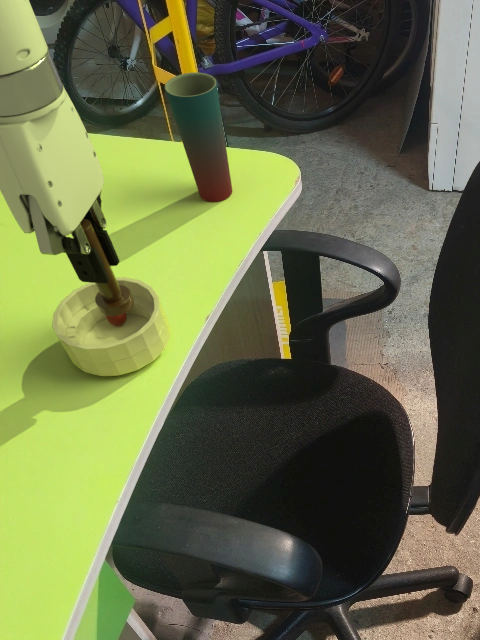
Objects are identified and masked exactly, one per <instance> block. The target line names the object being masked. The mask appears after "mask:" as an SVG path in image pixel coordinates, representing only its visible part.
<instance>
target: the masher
mask: <svg viewBox="0 0 480 640" xmlns="http://www.w3.org/2000/svg"><path fill="white" fill-rule="evenodd" d="M80 224H81V226H82V228H83V231H84V233H85V235H86V237H87V240H88V242H89V244H90V247H92V248H96V250H97V252H98V254H99V256H100V258H101V261H102V263H103V265H104V267H105V269H106V271H107V274H108V276H109V281H108V283H106V284H104V283H95V284H96V286H97V288H98V290H99V292H98V293H97V295H96V297H95V302H96V304H97V306H98V308H99V310H100V312H101V313H103V314H104V315H107V316H118V315H121V314H124V313H126V312H127V311H129V310H130V309H131V308H132V306H133V304H134V298H133V296H132V294H131V291H130V290H129V289H128V288H127V287H126V286H123V285H119V284H118V282H117V280H116V278H117V277H116V276H115V273H114V272H113V269H112V267H111V266H110V264H109V262H108V260H107V258H106V255H105V253H104V251H103V249H102V246H101V244H100V242H99V240H98V238H97V235H96V233H95V231H94V229H93V226H92V224H91V222H90V221H89V220H87V219H82V221H81V222H80ZM70 235H71V236H72V238H73V239H74V237H73V235H72V233H71V234H70Z"/></svg>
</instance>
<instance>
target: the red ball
mask: <svg viewBox="0 0 480 640" xmlns="http://www.w3.org/2000/svg"><path fill="white" fill-rule="evenodd" d="M106 318H107V320H108V322H109V323H110V324H112V325H114V326H121V325H123V324H124V323H125V322H126V320H127V314H126V313H124V314H121V315H118V316H107V315H106Z"/></svg>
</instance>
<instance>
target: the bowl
mask: <svg viewBox="0 0 480 640" xmlns="http://www.w3.org/2000/svg"><path fill="white" fill-rule="evenodd" d="M115 278H116V280H117V282H118V284H119V285H123V286H126V287H127V288H128V289H129V290H130V291H131V294H132V296H133V298H134V304H133V306H132V308H131V309H130V310H129V311H127V312H126V314H127V320H126V322H125V323H124V324H123V325H121V326H114V325H112V324H110V323H109V322H108V320H107V318H106V315H104V314H103V313H101V312H100V310H99V308H98V306H97V304H96V302H95V297H96V295H97V293H98V292H99V290H98V288H97V286H96V284H95V283H91V282H86V283H85V284H84V285H81V286H79V287H78V288H76V289H74V290H72V291H71V292H70V293H69V294H67V295H66V296H65V297H64V298H63V299H62V300H61V301H60V302H59V303H58V305H57V306H56V309H55V310H54V311H53V314H52V322H51V323H52V325H51V326H52V330H53V331H54V333H55V335H56V337H57V339H58V341H59V342H60V344H61V346H62V347H63V349H64V350H65V352H66V354H67V355H68V357H69V359H70V361H71V362H72V364H73V365H74V366H76V367H77V368H78V369H79V370H81V371H82V372H84V373H87V374H91V375H95V376H99V377H114V376H115V377H116V376H122V375H126V374H129V373H132V372H136V371H139V370H140V369H142V368H144V367H145V366H148V365H149V364H151V363H152V362H155V360H156V359H157V358H158V357H159V356H160V355H161V354H162V353H163V352H164V351H165V349H166V347H167V345H168V343H169V341H170V339H171V338H170V337H171V330H170V323H169V320H168V318H167V315H166V312H165V310H164V307H163V305H162V302H161V300H160V297H159V296H158V294H157V293H156V291H155V289H154V288H153V287H152V286H151V285H149V284H148V283H146V282H144V281H142V280H140V279H136V278H131V277H127V276H126V277H125V276H123V277H122V276H121V277H115Z"/></svg>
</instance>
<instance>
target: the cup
mask: <svg viewBox="0 0 480 640" xmlns="http://www.w3.org/2000/svg"><path fill="white" fill-rule="evenodd" d="M164 91H165V94H166V96H167V99H168V102H169V106H170V108H171V112H172V114H173V118H174V121H175V124H176V127H177V130H178V134H179V136H180V139H181V142H182V145H183V148H184V151H185V154H186V157H187V161H188V163H189V166H190V170H191V172H192V175H193V178H194V181H195V185H196V188H197V191H198V194H199V197H200V198H201V199H202V200H203V201H206V202H209V203H210V202H211V203H217V202H222V201H224V200H227V199H228V198H230V197H231V196H232V194H233V185H232V177H231V172H230V165H229V157H228V151H227V145H226V138H225V137H226V136H225V131H224V123H223V116H222V110H221V104H220V96H219V89H218V83H217V79H216V78H215V77H214V76H213V75H211V74H208V73H205V72H195V71H194V72H186V73H182V74H181V73H180V74H177V75H176V76H174V77H172V78H170V79H168V80H167V81H166V82H165V84H164Z"/></svg>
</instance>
